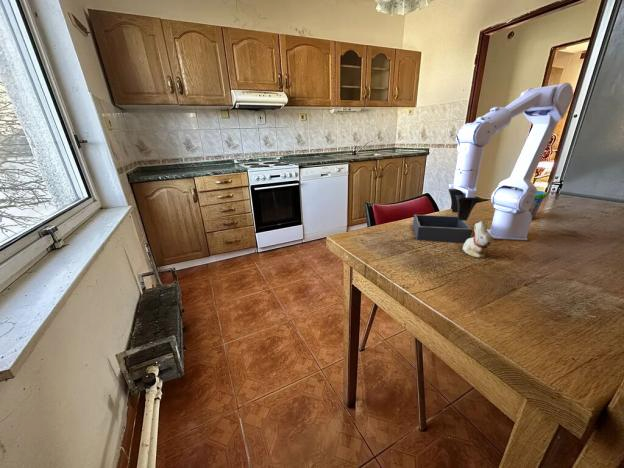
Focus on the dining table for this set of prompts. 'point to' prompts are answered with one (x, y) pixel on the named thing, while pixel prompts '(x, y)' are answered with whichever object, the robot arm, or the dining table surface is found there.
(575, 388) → the dining table surface
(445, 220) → the bin
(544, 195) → the snack cup
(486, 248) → the chocolate bunny
